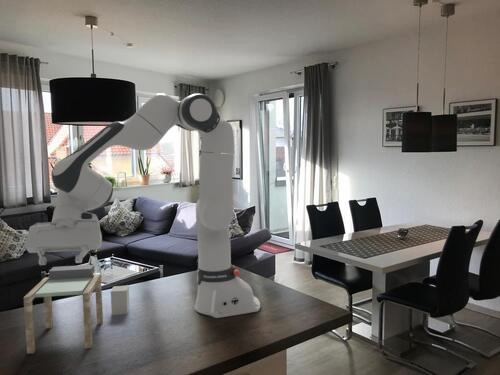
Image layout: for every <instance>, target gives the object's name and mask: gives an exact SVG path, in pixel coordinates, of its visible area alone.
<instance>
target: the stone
mask: <svg viewBox="0 0 500 375" xmlns="http://www.w3.org/2000/svg"><path fill="white" fill-rule="evenodd" d="M110 301H111V302H110V303H111V305H110V306H111V316H118V315H121V316H122V315H128V314H129V311H130V286H129V285H128V284H127V285H117V286H116V285H115V286H114V285H113V287H112V288H111V291H110Z"/></svg>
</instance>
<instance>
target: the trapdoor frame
mask: <svg viewBox="0 0 500 375" xmlns="http://www.w3.org/2000/svg"><path fill="white" fill-rule="evenodd" d="M48 281H49V276H48V277H44V278H43V279H41V281H39V283H37V284H36V285H35V286H34V287H32V289H31V290H30V291H28V293H26V294H25V296H24V297H23V308H24V310H23V312H24V322H25V325H24V327H25V328H24V329H25V339H26V340H25V341H26V353H27V354H28V355H29V354H34V353H35V351H36V340H35V326H34V324H35V323H34V322H35V321H34V310H33V309H34V308H33V307H34V306H33V300H34V299H35V298H36V297H35V294H36V293H37V292H38V291H39V290H40V289H41V288H42V287H43V286H44V285H45V284H46V283H47V282H48ZM94 291H95V309H96V310H95V312H96V325H102V324H104V314H103V312H104V311H103V296H102V295H103V294H102V274H101V273H97V274H93V275H92V281H91V282H90V283H89V285H88V286H87V288H86V289H85V291H84V292H83V294H82V306H83V307H82V308H83V309H82V310H83V312H82V313H83V327H84V329H83V330H84V346H85V347H84V348H85V349H91V348H93V335H92V334H93V333H92V332H93V330H92V312H91V310H92V308H91V295H92V294H93V293H94ZM43 298H44V311H45V326H46V327H45V328H46V329H52V328H53V327H54V320H53V319H54V318H53V316H54V315H53V304H52V303H53V302H52V301H53V300H52V298H53V297H52V296H49V297H43Z"/></svg>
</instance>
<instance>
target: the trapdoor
mask: <svg viewBox="0 0 500 375" xmlns="http://www.w3.org/2000/svg"><path fill="white" fill-rule="evenodd" d="M94 273H95V264H84V265H65V266H52V268H50V269H49V270H48V277H49V281H48V282H47V283H46V284H45V285H44V286H43V287H42V288H41V289H40V290H39V291H38V292H37V293H36V294H35V298H44V297H49V296H51V297H62V296H75V295H83V292H84V291H85V289H86V288H87V286H88V285H89V283H90V282H91V281H92V275H94Z"/></svg>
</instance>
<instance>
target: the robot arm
mask: <svg viewBox="0 0 500 375" xmlns="http://www.w3.org/2000/svg"><path fill="white" fill-rule="evenodd" d="M174 126H176V127H179V128H180V129H183V130H186V131H188V132H192V131H193V132H194V131H195V132H197V133H198V135H199V137H200V142H201V144H200V156H199V158H200V159H199V173H198V175H199V176H198V177H199V182H198V184H199V193H198V194H199V198H198V200H197V201H196V205H195V220H196V236H197V237H196V239H197V256H198V257H197V260H198V261H197V262H198V264H197V265H198V266H197V268H196V269H197V270H196V282H197V294H196V300H195V305H194V306H193V307H194V310H195V311H196V312H198V313H200V314H202V315H207V316H210V317H212V318H215V319H218V318H219V319H220V318H225V317H232V316H238V315H244V314H249V313H257V312H259V311H260V309H261V302H260V299H258V297H257V296H255V295H254V292H253V289H252V287H251V285H250V284H249V283H248V282H247V281H244V280H243V279H241V278H240V277H239V276H240V270H239V269H237V267H236V266H235V265H234V264H233V265H232V262H231V261H232V257H231V256H232V255H231V254H232V251H231V250H232V249H231V248H232V246H231V238H230V231H229V230H230V228H229V226H230V225H231V223H232V221H233V219H234V218H233V217H234V189H233V188H234V185H233V171H234V155H235V140H234V139H235V138H234V137H235V136H234V130H233V125H232V124H231V123H230V122H229V121H227V120H225V119H221V117H220V114H219V112H218V110H217V108H216V105H215V103H214V101H213V100H212V98H210V96H208V95H206V94H203V93H193V94H190V95H188V96H186V97H184V98H183V99H182V100H179V101H178V100H175V99H174V98H172V97H171V96H170V95H169V94H166V93H156V94H154V95H153V96H152V97H151V98H149V99H148V100H147V101H146V102H145V103H143V104H142V105H141V106H140V107H139V108H138V109H137V111H135V113H134V114H133V115H132V116H130V117H129V118H128V119H127V118H126V119H125V120H123V121H119V120H117V121H113V122H111V123H110V124H108V125H106V126H105V127H104V128H102V129H101V130H100V131H99V132H97V133H96V134H95V135H93V136H92V137H90V139H89V140H87V141H86V142H85V143H83V144H82V145H81V146H80V147H79V148H77V149H76V150H75V151H74V152H72V153H70V154H69V155H67V156H66V157H64V158H62V159H60V160H59V161H58V162H57V163H56V164H55V165H54V166H53V168H52V170H51V179H52V184H53V186H54V187H55V189H57V190H58V193H57V197H56V199H55V200H56V206H55V208H54V210H53V213H52V214H53V215H52V220H51V221H49V222H46V221H45V222H36V223H34V224H33V225H31V226H29V229H28V231H27V233H28V234H27V235H26V237H25V241H24V243H23V244H24V245H23V246H24V248H25V251H27V252H28V253H29V254H36V253H37V256H38V257H39V259H38V264H39V266H46V265H47V261H48V259H47V258H46V256H44V255H45V253H52V252H53V253H55V252H58V253H59V252H75V251H81V252H80V253H78V254H76V255H75V258H74V261H75V263H76V264H82V262H83V258H85V256H86V255H87V254H89V253H88V252H89V251H93V250H96V251H97V250H99V249H100V248H102V245H103V235H102V231H101V224H100V220H99V218H98V215H97V214H95V213H92V212H88V211H95V210H97V209H99V208H103V207H105V206H107V205H108V204H109V203H110V201H111V199H112V197H113V193H114V186H113V183H112V182H111V181H110V180H109V179H107V178H105V176H103V175H101V174H100V173H98V172H96V171H95V169H92V168H91V167H90V166H89V164H90V163H91V162H93V161H94V160H95V159H96V158H97V157H99V156H100V155H101V154H102V153H103V152H105V151H106V150H107V149H108V148H110V147H113V146H114V147H115V146H122V147H125V148H129V149H132V150H136V151H146V150H147V151H148V150H150V149H151V150H152V149H153V148H155V146H156V145H158V144H159V143H160V142H161V141H162V139H163V138H164V136H165V135H166V134H167V133H168V132H169V130H170V129H172V128H173V127H174Z"/></svg>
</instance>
